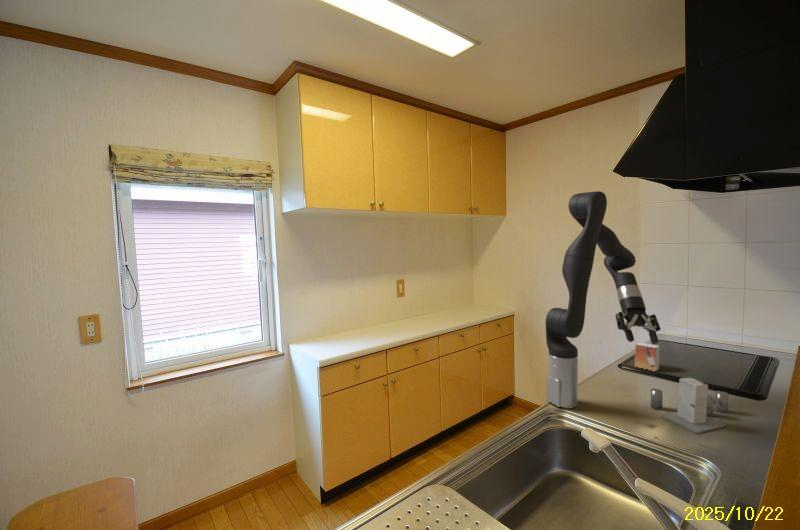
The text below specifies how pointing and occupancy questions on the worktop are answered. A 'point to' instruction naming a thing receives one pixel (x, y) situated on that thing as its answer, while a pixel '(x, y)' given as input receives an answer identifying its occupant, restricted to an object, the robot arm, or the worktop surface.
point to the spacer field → (720, 401)
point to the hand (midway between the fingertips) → (643, 342)
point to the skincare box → (692, 400)
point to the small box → (647, 356)
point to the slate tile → (690, 426)
